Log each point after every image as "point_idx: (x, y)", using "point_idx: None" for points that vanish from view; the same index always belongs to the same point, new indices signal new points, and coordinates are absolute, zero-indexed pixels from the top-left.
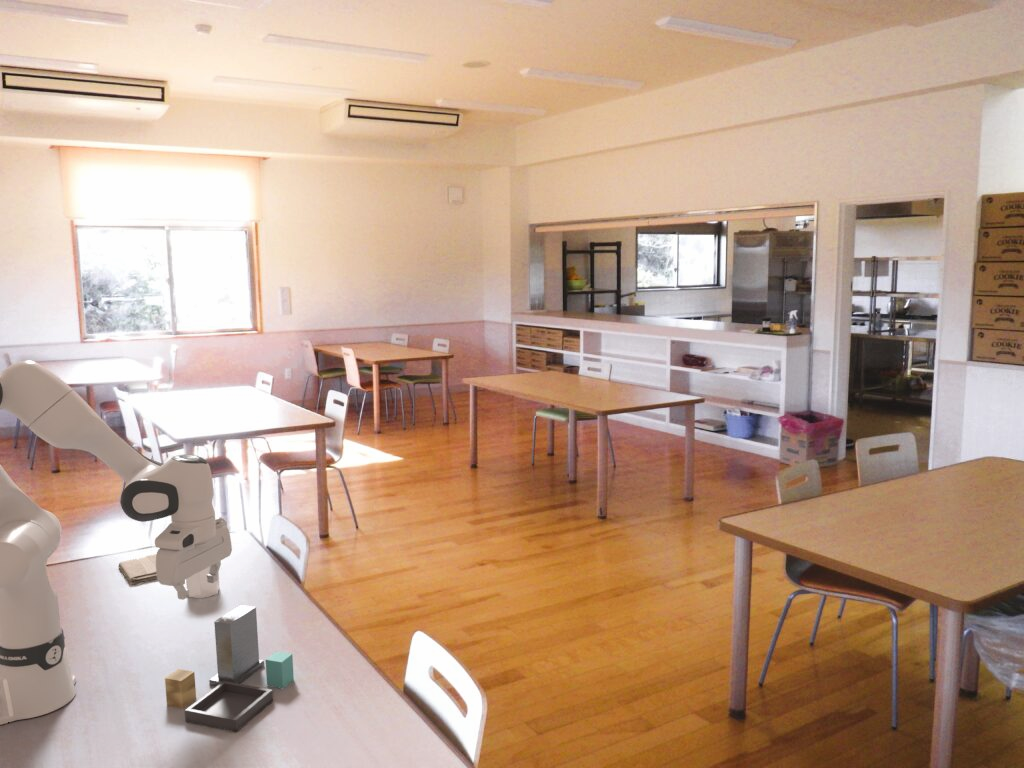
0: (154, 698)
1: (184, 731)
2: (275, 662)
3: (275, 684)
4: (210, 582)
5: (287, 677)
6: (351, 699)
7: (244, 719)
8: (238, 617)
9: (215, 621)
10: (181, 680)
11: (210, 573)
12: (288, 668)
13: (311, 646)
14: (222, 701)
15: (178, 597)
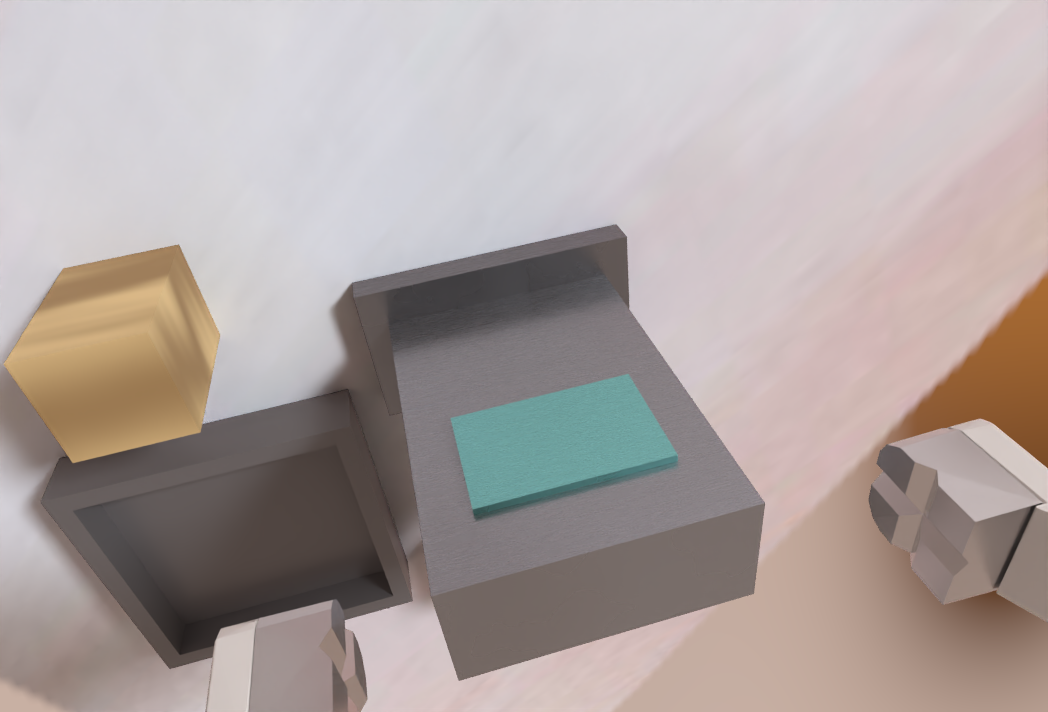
0: (39, 137)
1: (16, 508)
2: None
3: None
4: (884, 470)
5: None
6: (536, 680)
7: None
8: (568, 641)
9: (435, 602)
10: (79, 460)
11: (1029, 531)
12: None
13: (828, 371)
14: (265, 476)
15: (221, 644)
